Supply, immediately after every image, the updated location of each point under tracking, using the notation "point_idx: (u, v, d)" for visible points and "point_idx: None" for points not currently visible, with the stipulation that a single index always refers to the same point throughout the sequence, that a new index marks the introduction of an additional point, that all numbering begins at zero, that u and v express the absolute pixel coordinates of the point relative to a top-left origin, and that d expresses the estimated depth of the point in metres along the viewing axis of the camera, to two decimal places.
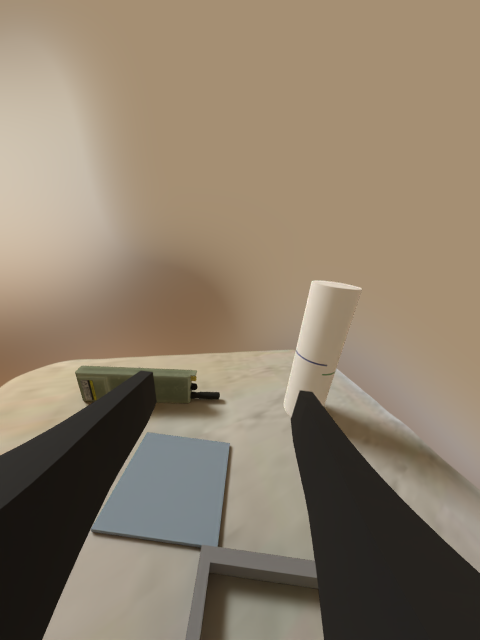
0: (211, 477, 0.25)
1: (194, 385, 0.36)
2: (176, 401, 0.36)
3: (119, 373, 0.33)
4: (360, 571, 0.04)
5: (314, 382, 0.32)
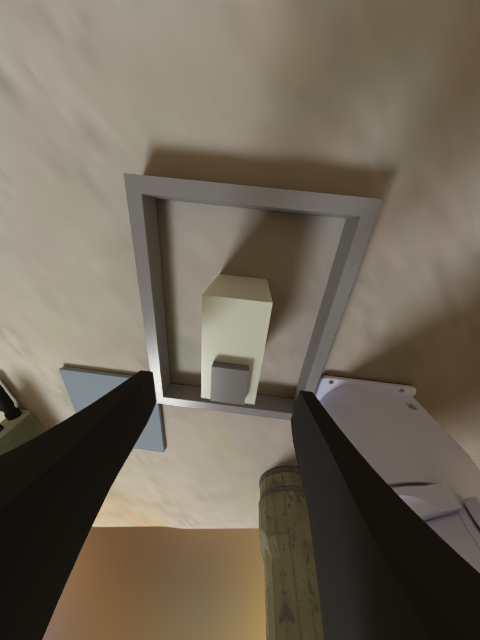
0: (105, 387, 0.22)
1: None
2: (36, 425, 0.26)
3: None
4: (360, 571, 0.04)
5: None
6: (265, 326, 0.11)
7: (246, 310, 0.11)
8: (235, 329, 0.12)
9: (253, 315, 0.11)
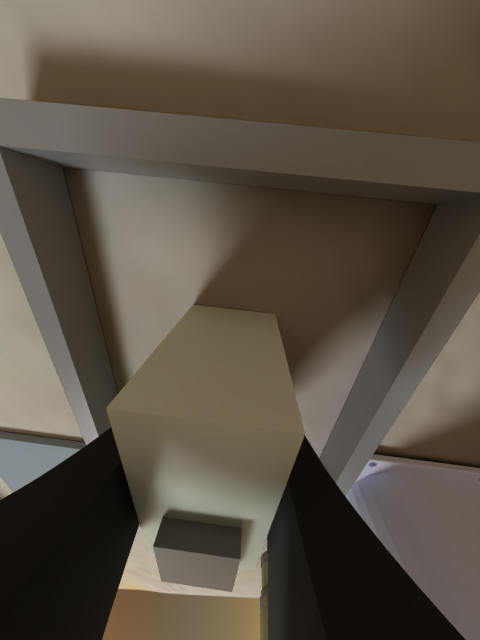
0: (38, 456, 0.15)
1: None
2: None
3: None
4: (290, 561, 0.04)
5: None
6: (281, 475, 0.04)
7: (231, 444, 0.04)
8: (204, 475, 0.05)
9: (251, 454, 0.04)
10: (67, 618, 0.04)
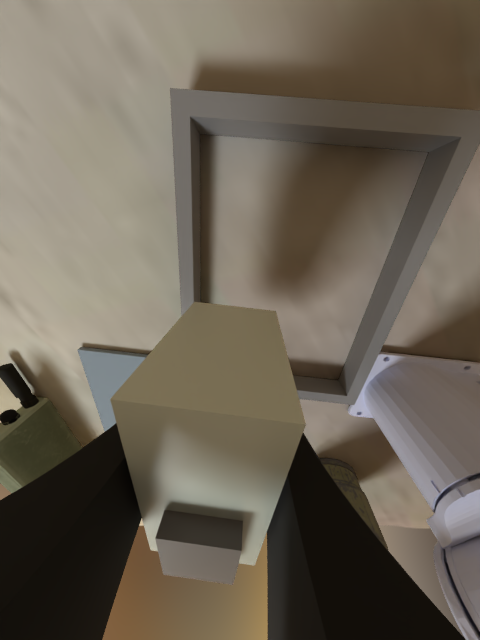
0: (128, 369, 0.20)
1: (4, 419, 0.20)
2: (55, 414, 0.24)
3: None
4: (290, 561, 0.04)
5: None
6: (282, 466, 0.04)
7: (233, 436, 0.04)
8: (206, 466, 0.05)
9: (252, 445, 0.04)
10: (67, 618, 0.04)
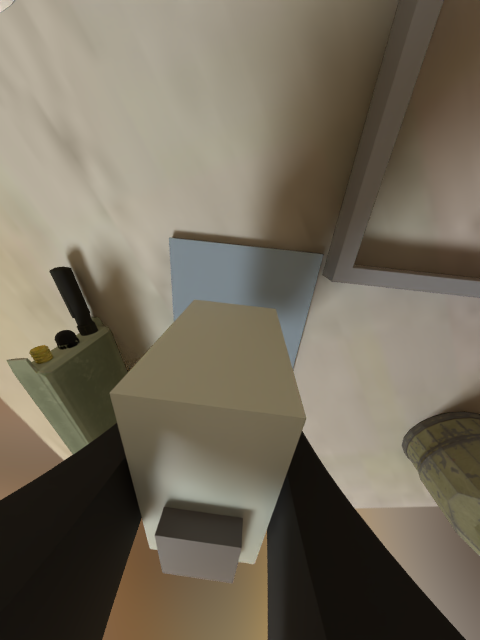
0: (235, 271, 0.14)
1: (62, 340, 0.14)
2: (115, 351, 0.18)
3: None
4: (290, 561, 0.04)
5: None
6: (282, 461, 0.04)
7: (232, 430, 0.04)
8: (206, 462, 0.05)
9: (252, 440, 0.04)
10: (67, 618, 0.04)
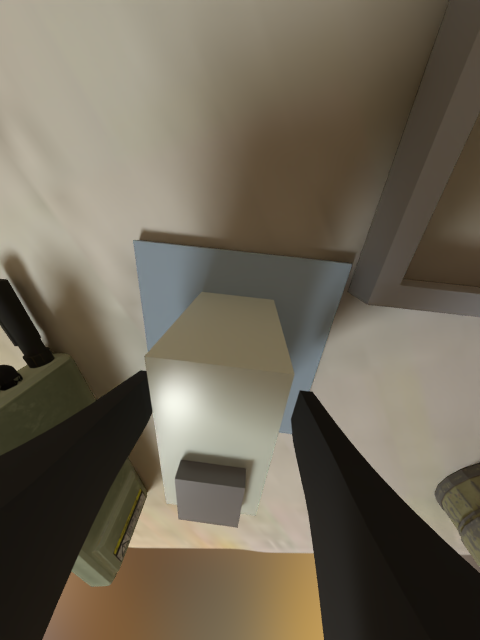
0: (228, 286, 0.10)
1: None
2: (80, 383, 0.14)
3: None
4: (360, 571, 0.04)
5: None
6: (277, 413, 0.06)
7: (238, 386, 0.05)
8: (217, 415, 0.06)
9: (253, 394, 0.05)
10: None
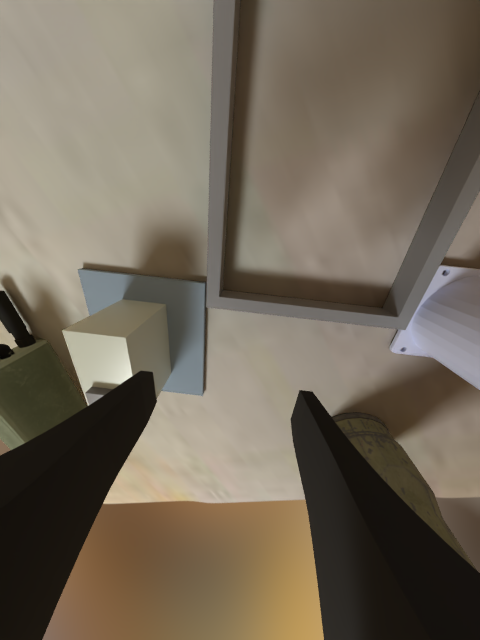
0: (137, 296, 0.17)
1: None
2: (55, 360, 0.21)
3: None
4: (360, 571, 0.04)
5: None
6: (126, 357, 0.12)
7: (104, 344, 0.12)
8: (100, 359, 0.13)
9: (112, 347, 0.12)
10: None
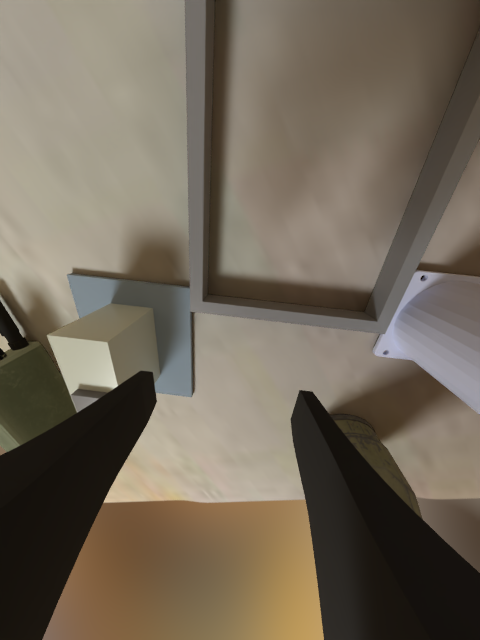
0: (125, 300, 0.17)
1: None
2: (48, 362, 0.21)
3: None
4: (360, 571, 0.04)
5: None
6: (109, 361, 0.13)
7: (88, 348, 0.12)
8: (85, 363, 0.13)
9: (95, 351, 0.13)
10: None
